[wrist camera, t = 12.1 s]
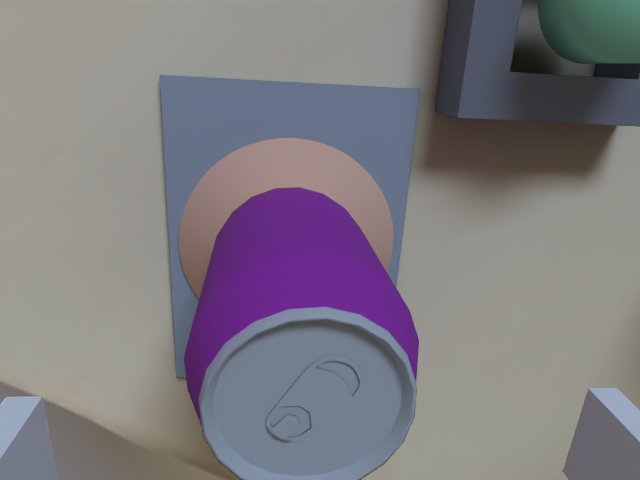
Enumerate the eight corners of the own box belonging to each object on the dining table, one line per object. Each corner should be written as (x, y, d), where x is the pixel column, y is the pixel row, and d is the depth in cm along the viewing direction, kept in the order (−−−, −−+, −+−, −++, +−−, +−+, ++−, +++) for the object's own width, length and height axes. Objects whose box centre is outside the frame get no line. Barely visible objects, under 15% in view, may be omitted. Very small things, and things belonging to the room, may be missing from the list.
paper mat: (161, 75, 22) (158, 75, 21) (417, 89, 23) (421, 89, 23) (177, 373, 27) (176, 379, 26) (384, 369, 28) (386, 375, 28)
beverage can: (293, 344, 27) (314, 549, 15) (182, 260, 24) (111, 429, 13) (392, 248, 25) (495, 395, 14) (285, 148, 23) (306, 230, 12)
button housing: (466, -133, 20) (499, -165, 17) (680, -108, 21) (742, -135, 19) (434, 111, 24) (457, 117, 21) (620, 120, 25) (665, 127, 22)
